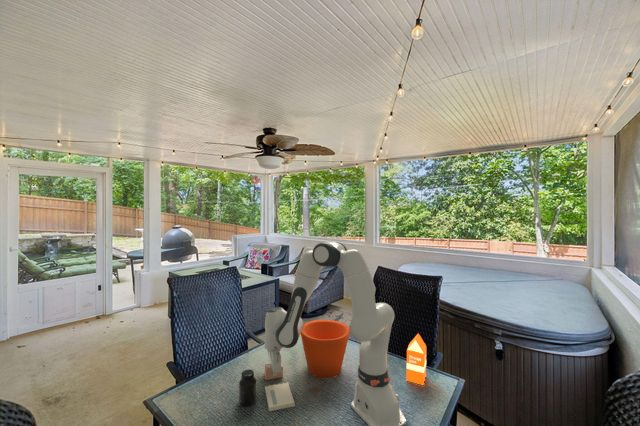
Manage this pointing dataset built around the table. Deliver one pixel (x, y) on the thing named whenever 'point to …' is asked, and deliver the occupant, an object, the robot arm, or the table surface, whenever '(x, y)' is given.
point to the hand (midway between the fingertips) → (273, 372)
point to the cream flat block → (279, 396)
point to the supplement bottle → (247, 389)
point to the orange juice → (416, 361)
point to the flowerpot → (324, 347)
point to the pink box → (270, 373)
